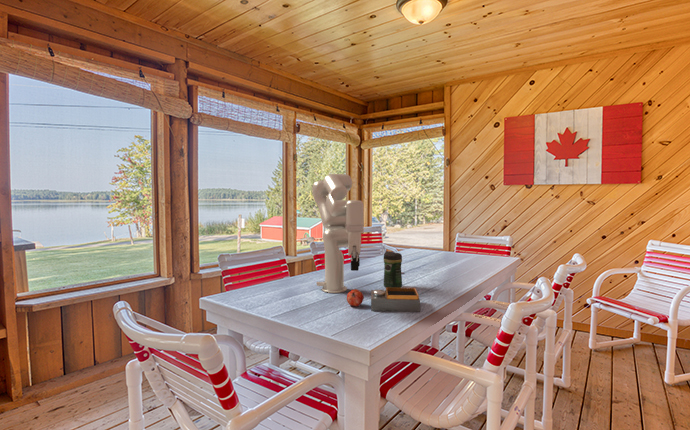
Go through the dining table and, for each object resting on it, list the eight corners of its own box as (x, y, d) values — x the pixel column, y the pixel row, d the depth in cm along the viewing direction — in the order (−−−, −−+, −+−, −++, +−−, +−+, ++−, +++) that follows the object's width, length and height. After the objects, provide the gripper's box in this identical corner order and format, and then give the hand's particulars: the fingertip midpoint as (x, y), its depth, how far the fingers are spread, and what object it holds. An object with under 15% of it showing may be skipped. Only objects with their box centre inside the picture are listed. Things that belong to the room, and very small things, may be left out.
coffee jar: (404, 287, 181) (404, 252, 180) (394, 290, 176) (394, 254, 176) (391, 284, 189) (391, 250, 188) (380, 286, 184) (380, 251, 183)
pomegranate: (349, 307, 155) (340, 298, 148) (355, 293, 158) (347, 283, 151) (363, 312, 151) (354, 303, 144) (369, 297, 154) (361, 287, 147)
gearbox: (371, 310, 144) (371, 295, 143) (371, 301, 158) (371, 286, 157) (420, 311, 142) (420, 296, 142) (415, 301, 156) (416, 287, 156)
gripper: (347, 227, 159) (348, 264, 159) (344, 230, 141) (345, 272, 142) (364, 227, 158) (364, 265, 158) (363, 230, 141) (363, 272, 141)
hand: (355, 268), depth 150 cm, fingers open, 9 cm apart
